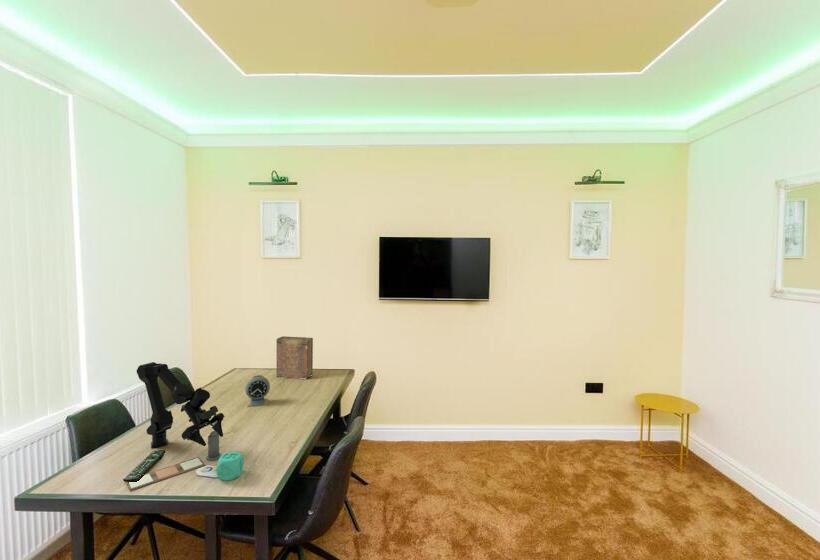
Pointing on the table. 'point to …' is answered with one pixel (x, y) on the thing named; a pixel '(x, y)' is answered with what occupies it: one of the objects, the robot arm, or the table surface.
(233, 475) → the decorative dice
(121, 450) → the table surface
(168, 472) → the game board
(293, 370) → the book
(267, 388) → the alarm clock
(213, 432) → the pawn
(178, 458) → the table surface
